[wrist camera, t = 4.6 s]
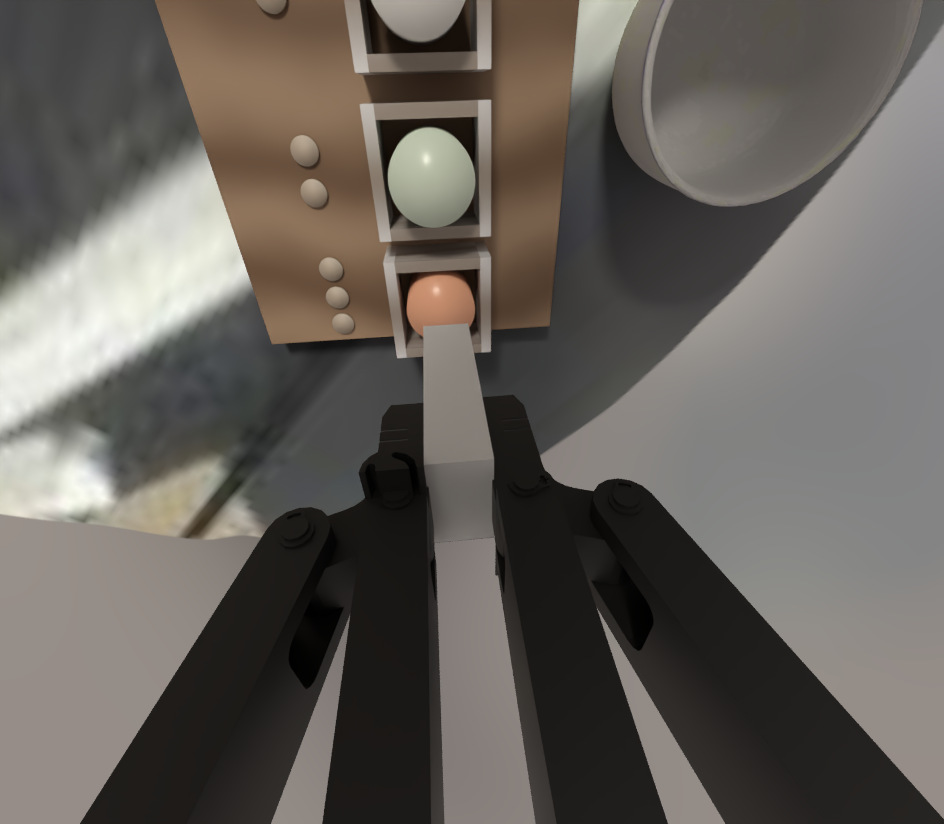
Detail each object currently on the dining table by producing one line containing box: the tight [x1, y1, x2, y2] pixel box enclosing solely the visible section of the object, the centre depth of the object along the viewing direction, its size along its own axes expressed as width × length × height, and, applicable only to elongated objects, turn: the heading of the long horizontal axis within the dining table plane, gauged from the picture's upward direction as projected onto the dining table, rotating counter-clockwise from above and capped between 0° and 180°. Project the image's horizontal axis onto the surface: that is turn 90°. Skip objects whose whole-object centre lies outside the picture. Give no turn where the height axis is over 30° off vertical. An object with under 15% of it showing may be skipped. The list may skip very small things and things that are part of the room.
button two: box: [388, 126, 475, 228], centre depth 21 cm, size 4×4×3 cm
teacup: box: [612, 0, 923, 207], centre depth 20 cm, size 14×11×8 cm
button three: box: [407, 270, 475, 337], centre depth 26 cm, size 4×4×3 cm
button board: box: [155, 0, 579, 358], centre depth 23 cm, size 20×19×5 cm
